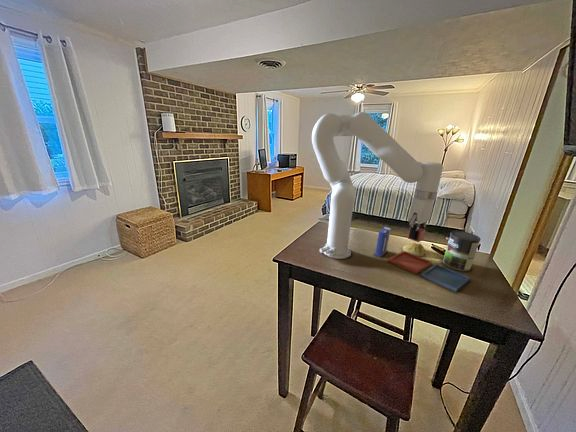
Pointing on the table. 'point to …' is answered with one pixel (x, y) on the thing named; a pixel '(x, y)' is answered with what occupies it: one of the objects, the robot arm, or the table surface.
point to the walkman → (382, 241)
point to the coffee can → (461, 250)
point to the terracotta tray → (410, 261)
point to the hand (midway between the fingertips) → (415, 237)
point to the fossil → (414, 249)
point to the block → (419, 235)
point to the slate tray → (446, 277)
